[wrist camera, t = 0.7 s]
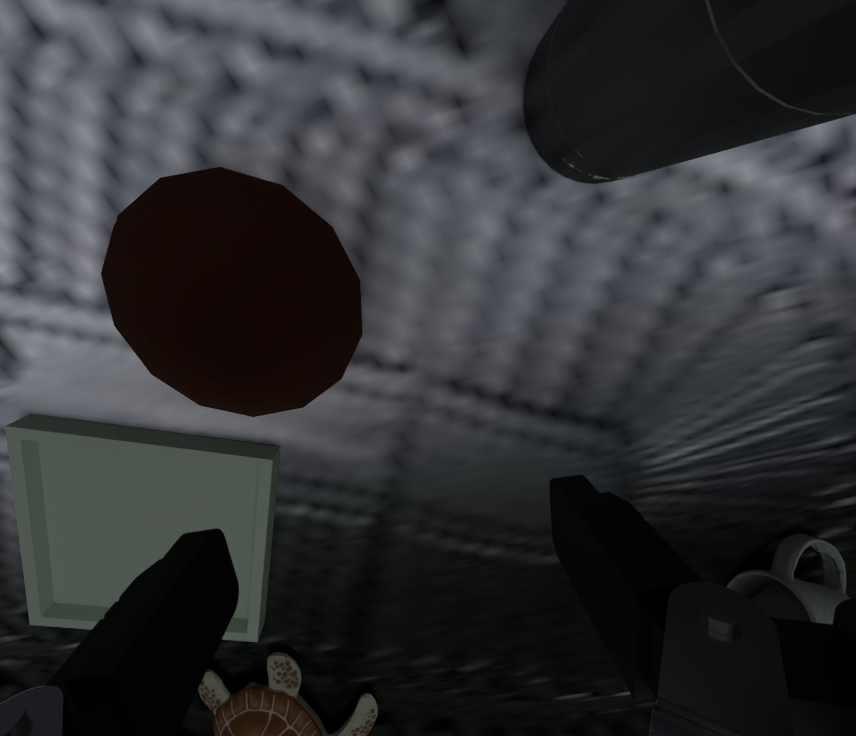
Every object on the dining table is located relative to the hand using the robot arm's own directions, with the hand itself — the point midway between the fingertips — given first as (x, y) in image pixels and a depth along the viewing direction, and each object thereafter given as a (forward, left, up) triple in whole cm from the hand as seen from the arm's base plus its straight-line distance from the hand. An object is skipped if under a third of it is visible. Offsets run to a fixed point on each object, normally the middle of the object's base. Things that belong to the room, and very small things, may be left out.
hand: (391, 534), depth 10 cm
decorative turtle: (+35, -5, -19) cm, 40 cm away
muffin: (-3, -8, -18) cm, 20 cm away
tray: (+16, -15, -18) cm, 28 cm away
